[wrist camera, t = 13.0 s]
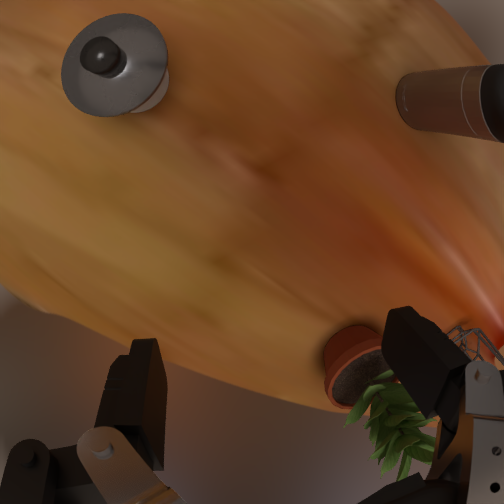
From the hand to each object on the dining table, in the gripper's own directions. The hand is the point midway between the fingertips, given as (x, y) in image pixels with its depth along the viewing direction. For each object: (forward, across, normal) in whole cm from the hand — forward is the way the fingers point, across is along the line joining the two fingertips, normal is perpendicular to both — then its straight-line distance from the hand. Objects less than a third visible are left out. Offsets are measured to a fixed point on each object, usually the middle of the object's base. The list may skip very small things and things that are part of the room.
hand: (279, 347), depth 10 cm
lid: (+21, +10, -14) cm, 27 cm away
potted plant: (+33, -21, +31) cm, 50 cm away
